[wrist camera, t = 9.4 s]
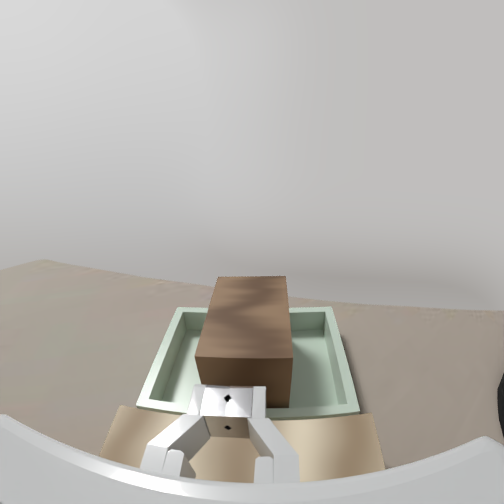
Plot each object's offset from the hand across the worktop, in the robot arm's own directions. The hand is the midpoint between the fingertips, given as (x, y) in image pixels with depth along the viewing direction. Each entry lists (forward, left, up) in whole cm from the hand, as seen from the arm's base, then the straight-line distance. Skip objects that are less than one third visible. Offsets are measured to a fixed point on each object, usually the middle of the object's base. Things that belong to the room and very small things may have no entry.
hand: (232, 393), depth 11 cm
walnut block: (0, +5, -6) cm, 8 cm away
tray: (0, +10, -10) cm, 14 cm away
